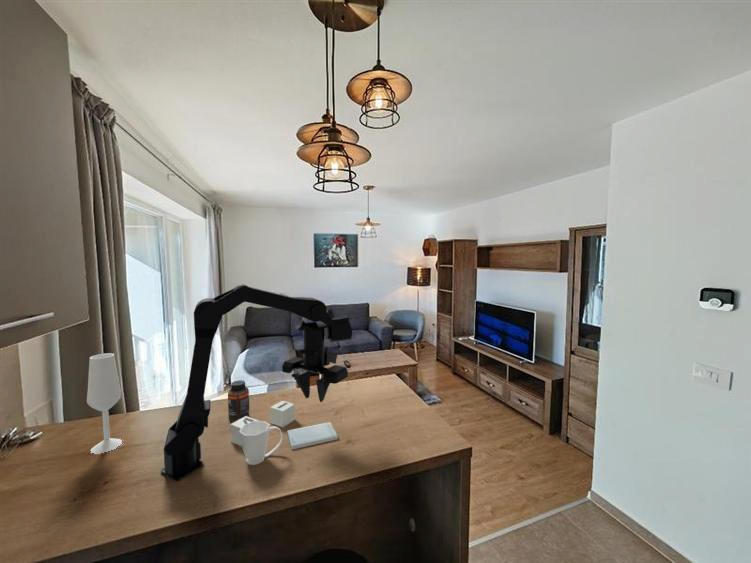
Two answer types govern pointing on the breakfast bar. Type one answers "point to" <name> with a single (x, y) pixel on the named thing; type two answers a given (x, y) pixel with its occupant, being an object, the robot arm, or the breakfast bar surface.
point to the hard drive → (311, 435)
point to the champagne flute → (103, 395)
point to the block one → (282, 413)
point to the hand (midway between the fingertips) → (314, 399)
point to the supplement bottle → (238, 401)
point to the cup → (256, 441)
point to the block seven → (236, 428)
